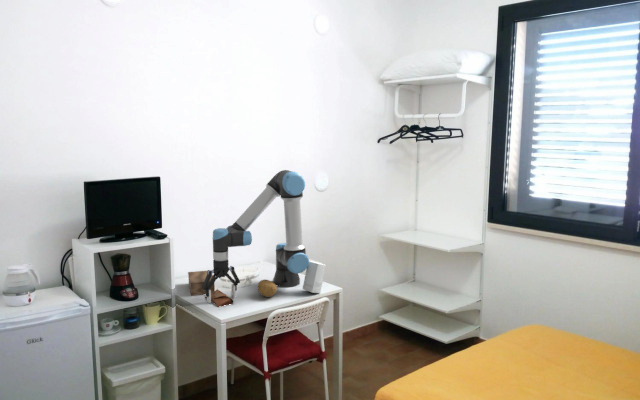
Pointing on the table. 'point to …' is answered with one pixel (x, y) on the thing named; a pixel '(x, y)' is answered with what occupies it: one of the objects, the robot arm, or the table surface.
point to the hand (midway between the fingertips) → (221, 299)
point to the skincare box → (314, 277)
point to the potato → (267, 288)
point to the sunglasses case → (220, 298)
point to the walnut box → (198, 282)
